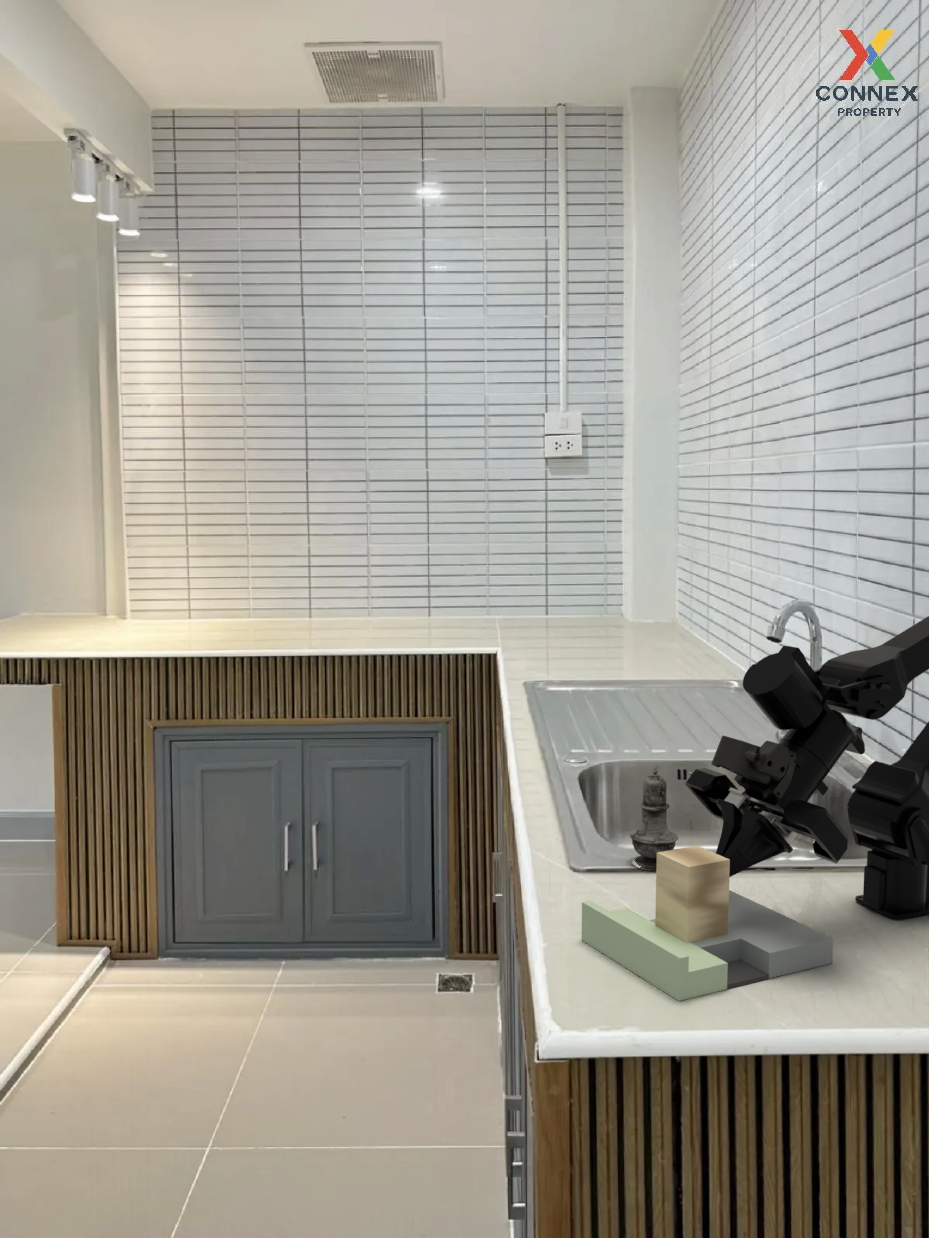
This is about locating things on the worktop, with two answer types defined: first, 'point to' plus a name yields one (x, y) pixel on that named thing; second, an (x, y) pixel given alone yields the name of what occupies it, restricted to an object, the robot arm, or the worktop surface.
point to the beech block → (692, 893)
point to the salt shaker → (653, 824)
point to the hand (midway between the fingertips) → (714, 878)
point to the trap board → (707, 948)
